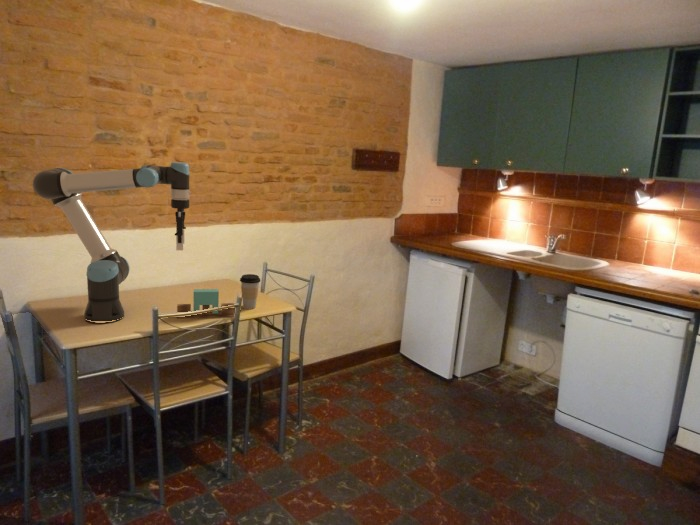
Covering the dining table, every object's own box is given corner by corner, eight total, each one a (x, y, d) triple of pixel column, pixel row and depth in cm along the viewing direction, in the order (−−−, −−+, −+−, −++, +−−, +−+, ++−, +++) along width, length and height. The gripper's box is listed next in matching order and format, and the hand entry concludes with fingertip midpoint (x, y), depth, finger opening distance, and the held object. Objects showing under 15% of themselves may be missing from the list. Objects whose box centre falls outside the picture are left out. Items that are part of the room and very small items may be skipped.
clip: (193, 313, 222) (193, 292, 220) (193, 310, 226) (193, 289, 223) (218, 313, 225) (218, 291, 222) (218, 310, 228) (218, 289, 226)
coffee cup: (243, 311, 234) (244, 279, 231) (236, 305, 242) (236, 274, 238) (262, 308, 239) (263, 278, 236) (254, 302, 247) (255, 273, 244)
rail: (177, 318, 220) (177, 307, 218) (177, 313, 225) (177, 303, 224) (234, 316, 226) (234, 306, 225) (233, 312, 231) (233, 302, 230)
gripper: (188, 202, 210) (188, 253, 215) (190, 195, 233) (190, 241, 238) (169, 202, 208) (169, 253, 212) (172, 195, 231) (173, 240, 236)
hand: (180, 246), depth 225 cm, fingers open, 13 cm apart
